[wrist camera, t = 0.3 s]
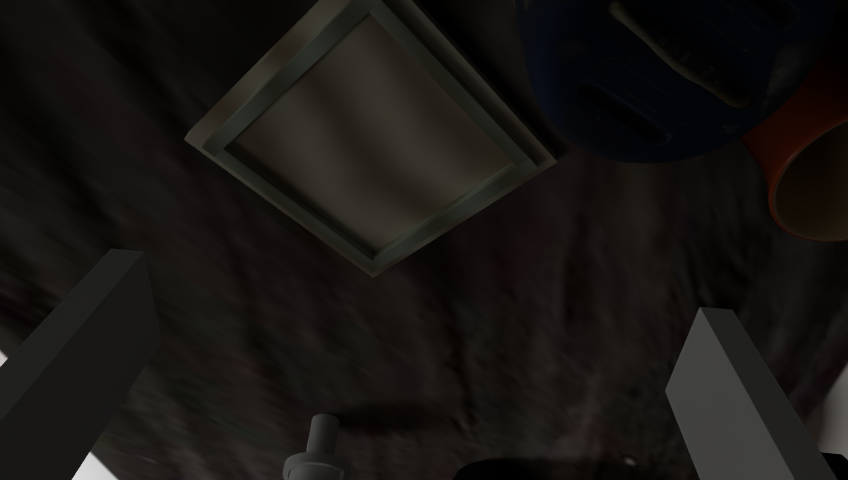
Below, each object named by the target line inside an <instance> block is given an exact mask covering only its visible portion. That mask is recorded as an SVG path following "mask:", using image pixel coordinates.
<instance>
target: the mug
mask: <svg viewBox="0 0 848 480" xmlns="http://www.w3.org/2000/svg"><path fill="white" fill-rule="evenodd" d="M739 138H740V140H741V141H742V142H743V144H744V145H745V147H746V148H747V150H748V151H749V153H750V154H751V156H752V157H753V159H754V160H755V161H756V163H757V164H758V165H759V166H760V168H761V169H762V171H763V173H764V175H765V178H766V183H767V191H768V202H769V208H770V211H771V214H772V216H773V218H774V220H775V221H776V223H777V224H778V225H779V226H780V227H781V228H782V229H784V230H785V231H786V232H788V233H790V234H791V235H794V236H796V237H799V238H802V239H806V240H811V241H820V242H835V241H845V240H848V41H847V40H845V39H844V38H842V37H840V36H837V35H834V34H832V33H831V34H830V37H829V39H828V41H827V43H826V45H825V48H824V50H823V52H822V54H821V55H820V57H819V59H818V61H817V62H816V64H815V66H814V67H813V69H812V70H811V72H810V73H809V75H808V76H807V78H806V79H805V81H804V82H803V84H802V85H801V86H800V87H799V89H798V90H797V91H796V93H794V94H793V95H792V96H791V97H790V98H789V99H788V100H787V101H786V102H785V103H784V104H783V105H782V106H781V107H780V108H779V109H778V110H777V111H776V112H775V113H774V114H772V115H771V116H770V117H768V118H767V119H766V120H764V121H763V122H762V123H760V124H759V125H758V126H756V127H755V128H753V129H752V130H750V131H749V132H747V133H746V134H744V135H742V136H741V137H739Z"/></svg>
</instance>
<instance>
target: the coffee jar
mask: <svg viewBox="0 0 848 480" xmlns="http://www.w3.org/2000/svg"><path fill="white" fill-rule="evenodd" d="M453 480H532V478H531V477H530V475H529V474H528V473H527V472H526V470H525V469H523V468H522V467H520V466H518V465H515V464H512V463H509V462H503V461H482V462H476V463H472V464H470V465H467V466H465V467H463V468H462V469H460V470H459V471H458V472H457V474H456V476H455V477H454V479H453Z"/></svg>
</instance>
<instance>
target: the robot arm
mask: <svg viewBox="0 0 848 480" xmlns="http://www.w3.org/2000/svg"><path fill="white" fill-rule="evenodd" d="M160 342H161V337H160V332H159V327H158V322H157V317H156V312H155V307H154V302H153V297H152V292H151V287H150V282H149V277H148V272H147V267H146V262H145V257H144V252H140V251H130V250H120V249H110V250H109V251H108V252H107V254H106V255H105V256H104V257H103V258H102V259H101V260H100V261H99V262H98V263H97V264H96V265H95V266H94V267H93V269H92V270H91V271H90V272H89V273H88V274H87V275H86V276H85V277H84V278H83V279H82V280H81V281H80V282H79V283H78V285H77V286H76V287H75V288H74V289H73V290H72V291H71V292H70V293H69V294H68V295H67V296H66V297H65V298H64V299H63V301H62V302H61V303H60V304H59V305H58V306H57V307H56V308H55V309H54V310H53V311H52V312H51V313H50V314H49V315H48V317H47V318H46V319H45V320H44V321H43V322H42V323H41V324H40V325H39V326H38V327H37V328H36V329H35V330H34V331H33V333H32V334H31V335H30V336H29V337H28V338H27V339H26V340H25V341H24V342H23V343H22V344H21V345H20V346H19V347H18V349H17V350H16V351H15V352H14V353H13V354H12V355H11V356H10V357H9V358H8V359H7V360H6V361H5V362H4V364H3V365H2V366H1V367H0V480H72V478H73V477H74V475H75V473H76V472H77V470H78V469H79V467H80V466H81V464H82V463H83V461H84V460H85V458H86V456H87V455H88V453H89V452H90V450H91V449H92V447H93V446H94V444H95V443H96V441H97V439H98V438H99V436H100V435H101V433H102V432H103V430H104V429H105V427H106V425H107V424H108V422H109V421H110V419H111V418H112V416H113V415H114V413H115V412H116V410H117V408H118V407H119V405H120V404H121V402H122V401H123V399H124V398H125V396H126V394H127V393H128V391H129V390H130V388H131V387H132V385H133V384H134V382H135V381H136V379H137V377H138V376H139V374H140V373H141V371H142V370H143V368H144V367H145V365H146V363H147V362H148V360H149V359H150V357H151V356H152V354H153V353H154V351H155V349H156V348H157V346H158V345H159V343H160ZM665 392H666V394H667V397H668V399H669V402H670V404H671V407H672V409H673V412H674V415H675V417H676V420H677V422H678V425H679V427H680V430H681V432H682V435H683V437H684V440H685V443H686V445H687V448H688V450H689V453H690V455H691V458H692V460H693V463H694V465H695V468H696V471H697V473H698V476H699V478H700V480H848V460H847V459H846V458H845V457H844V456H843V455H841V454H831V453H822V452H820V451H819V449H818V447H817V446H816V444H815V443H814V441H813V439H812V438H811V436H810V434H809V433H808V431H807V430H806V428H805V426H804V425H803V423H802V421H801V420H800V418H799V417H798V415H797V413H796V412H795V410H794V409H793V407H792V405H791V404H790V402H789V400H788V399H787V397H786V396H785V394H784V392H783V391H782V389H781V388H780V386H779V384H778V383H777V381H776V379H775V378H774V376H773V375H772V373H771V371H770V370H769V368H768V367H767V365H766V363H765V362H764V360H763V359H762V357H761V355H760V354H759V352H758V350H757V349H756V347H755V346H754V344H753V342H752V341H751V339H750V338H749V336H748V334H747V333H746V331H745V329H744V328H743V326H742V325H741V323H740V321H739V320H738V318H737V317H736V315H735V313H734V312H733V310H726V309H716V308H706V307H700V308H699V310H698V313H697V315H696V318H695V320H694V322H693V325H692V327H691V330H690V332H689V334H688V337H687V339H686V342H685V344H684V346H683V349H682V351H681V354H680V356H679V358H678V361H677V363H676V366H675V368H674V370H673V373H672V375H671V378H670V380H669V383H668V385H667V387H666V390H665Z"/></svg>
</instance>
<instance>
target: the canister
mask: <svg viewBox="0 0 848 480" xmlns="http://www.w3.org/2000/svg"><path fill="white" fill-rule="evenodd" d="M512 1H513V5H514V9H515V15H516V22H517V25H518V28H519V32H520V36H521V41H522V46H523V50H524V55H525V62H526V67H527V71H528V75H529V79H530V83H531V86H532V90H533V92H534V95H535V97H536V99H537V101H538V103H539V106H540V108H541V110H542V111H543V113H544V114H545V116H546V117H547V118H548V120H549V121H550V122H551V124H552V125H553V126H554V127H555V128H556V129H557V130H558V131H559V132H560V133H561V134H562V135H563V136H565V137H566V138H567V139H568V140H570V141H571V142H573V143H574V144H576V145H577V146H579V147H580V148H582V149H584V150H586V151H588V152H591V153H593V154H596V155H598V156H601V157H604V158H607V159H611V160H614V161H618V162H625V163H633V162H635V163H665V162H672V161H678V160H683V159H687V158H691V157H695V156H698V155H702V154H704V153H707V152H709V151H712V150H714V149H716V148H719V147H721V146H723V145H725V144H727V143H729V142H731V141H733V140H735V139H737V138H739V137H741V136H742V135H744V134H746V133H747V132H749V131H750V130H752V129H753V128H755V127H756V126H758V125H759V124H760V123H762V122H763V121H764V120H766V119H767V118H768V117H770V116H771V115H772V114H774V113H775V112H776V111H777V110H778V109H779V108H780V107H781V106H782V105H783V104H784V103H785V102H786V101H787V100H788V99H789V98H790V97H791V96H792V95H793V94H794V93H796V91H797V90H798V89H799V87H800V86H801V85H802V84H803V82H804V81H805V79H806V78H807V76H808V75H809V73H810V72H811V70H812V69H813V67H814V66H815V64H816V62H817V61H818V59H819V57H820V55H821V54H822V52H823V50H824V48H825V45H826V43H827V41H828V39H829V37H830V34H831V31H832V28H833V25H834V21H835V17H836V11H837V6H838V0H512Z"/></svg>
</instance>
